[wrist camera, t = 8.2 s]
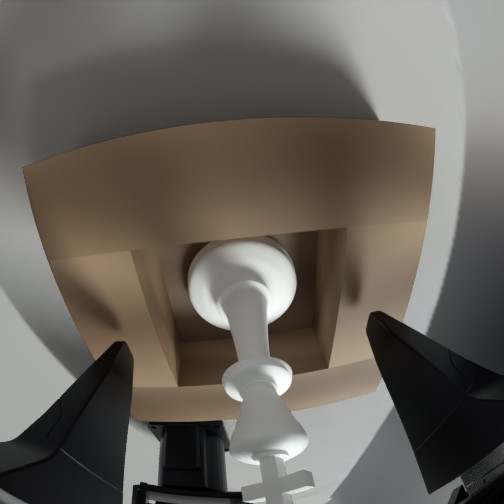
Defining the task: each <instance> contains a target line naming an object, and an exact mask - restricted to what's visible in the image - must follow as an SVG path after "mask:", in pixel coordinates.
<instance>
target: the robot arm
mask: <svg viewBox="0 0 504 504" xmlns="http://www.w3.org/2000/svg"><path fill="white" fill-rule="evenodd" d="M366 334H367V337H368V340H369V343H370V346H371V349H372V352H373V355H374V358H375V361H376V364H377V366H378V369H379V371H380V373H381V375H382V378H383V380H384V382H385V384H386V387H387V389H388V391H389V393H390V396H391V398H392V400H393V403H394V405H395V407H396V410H397V412H398V414H399V417H400V419H401V422H402V424H403V426H404V429H405V431H406V434H407V436H408V439H409V441H410V444H411V446H412V449H413V452H414V455H415V457H416V460H417V463H418V466H419V468H420V471H421V474H422V477H423V480H424V482H425V485H426V488H427V491H428V494H431V493H433V492H435V491H437V490H438V489H440V488H442V487H443V486H445V485H447V484H448V483H450V482H452V481H453V480H455V479H456V478H458V477H460V480H461V482H462V485H460V486H459V487H457V488H456V489H454V490H453V492H452V494H451V497H450V499H449V502H448V504H504V375H501V374H498V373H496V372H494V371H491V370H489V369H487V368H485V367H483V366H480V365H478V364H476V363H474V362H472V361H470V360H468V359H466V358H464V357H462V356H460V355H458V354H456V353H455V352H453V351H451V350H449V349H448V348H446V347H444V346H442V345H441V344H439V343H437V342H435V341H434V340H432V339H430V338H429V337H427V336H425V335H423V334H421V333H420V332H418V331H416V330H414V329H413V328H411V327H409V326H407V325H405V324H404V323H402V322H400V321H398V320H397V319H395V318H393V317H391V316H389V315H388V314H386V313H384V312H382V311H374V312H371V313H370V314H369V318H368V322H367V326H366ZM133 371H134V357H133V355H132V353H131V351H130V348H129V346H128V344H127V343H126V342H125V341H115V342H114V343H113V344H112V345H111V346H110V347H109V348H108V349H107V350H106V351H105V352H104V353H103V354H102V355H101V356H100V357H99V358H98V359H97V360H96V361H95V362H94V363H93V364H92V365H91V366H90V367H89V368H88V369H87V370H86V371H85V372H84V373H83V374H82V375H81V376H80V377H79V378H78V379H77V380H76V381H75V382H74V383H73V384H72V385H71V386H70V387H69V388H68V389H67V391H66V392H65V393H64V394H63V395H62V396H61V397H60V399H58V400H57V401H56V402H55V403H54V404H53V405H52V406H51V407H50V408H49V409H48V410H47V411H46V412H45V413H44V414H43V415H42V416H41V417H40V418H39V419H37V420H36V421H35V422H34V423H33V424H32V425H31V426H30V427H28V428H27V429H26V430H25V431H24V432H23V433H22V434H21V435H19V436H18V437H17V438H15V439H13V440H11V441H7V442H0V504H123V479H124V465H125V452H126V443H127V434H128V425H129V417H130V410H131V403H132V393H133ZM148 428H149V429H150V430H151V431H152V433H153V434H154V435H155V437H156V438H157V439H158V440H159V442H160V455H159V472H158V486H156V485H149V484H147V483H144V482H140V485H133V494H132V495H133V496H132V504H151V503H149V500H154V501H156V503H155V504H253V503H248V502H243V498H242V492H228V490H227V477H226V465H225V452H226V451H229V446H230V441H229V438H228V435H227V432H226V429H225V426H224V423H223V421H221V420H214V421H192V422H155V421H150V422H148ZM160 501H161V502H160Z"/></svg>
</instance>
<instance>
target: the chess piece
mask: <svg viewBox="0 0 504 504" xmlns="http://www.w3.org/2000/svg"><path fill="white" fill-rule="evenodd" d="M296 286H297V280H296V273H295V268H294V264H293V261H292V259H291V257H290V256H289V254H288V253H287V251H286V250H285V249H284V248H283V247H282V246H281V245H280V244H278V243H277V242H276V241H274V240H272V239H270V238H268V237H266V236H254V237H245V238H235V239H226V240H217V241H211V242H210V243H208V244H207V245H206V246H204V247H203V248H202V249H201V250H200V251H199V252H198V254H197V255H196V256H195V258H194V259H193V261H192V263H191V265H190V268H189V272H188V291H189V297H190V300H191V303H192V305H193V307H194V308H195V310H196V311H197V312H198V314H199V315H200V316H201V317H202V318H204V319H205V320H206V321H208V322H209V323H211V324H213V325H215V326H217V327H219V328H223V329H226V330H231V333H232V337H233V341H234V344H235V348H236V352H237V357H238V362H236V363H235V364H233V365H232V366H230V367H229V368H228V369H227V370H226V371H225V373H224V374H223V377H222V384H223V387H224V388H225V391H226V393H227V394H228V395H229V396H230V397H231V398H233V399H235V400H237V401H241V402H242V404H241V407H240V409H239V413H238V420H237V423H236V427H235V429H234V432H233V434H232V437H231V441H230V446H229V451H230V454H231V456H232V457H233V458H235V459H236V460H238V461H240V462H243V463H247V464H254V465H260V467H261V474H262V480H263V482H262V483H258V484H253V485H249V486H245V487H241V490H242V498H243V502H248V503H257V502H261V501H266V504H293V501H292V497H291V494H294V493H297V492H301V491H304V490H307V489H311V488H314V487H315V484H314V480H313V476H312V473H311V472H309V471H306V470H302V471H299V472H296V473H293V474H289V475H287V473H286V468H285V463H284V461H286V460H288V459H290V458H293V457H295V456H296V455H298V454H299V453H301V452H302V451H303V450H304V449H305V448H306V446H307V445H308V441H309V439H308V436H307V434H306V432H305V430H304V429H303V427H302V426H301V425H300V423H299V422H298V421H297V420H296V419H295V418H294V416H293V415H292V414H291V412H290V411H289V409H288V407H287V405H286V404H285V402H284V401H283V400H282V398H281V397H280V395H282V394H283V393H285V392H286V391H287V390H288V388H289V387H290V385H291V382H292V369H291V367H290V366H289V365H288V364H287V363H286V362H285V361H283V360H281V359H278V358H275V357H270V353H269V343H268V324H270V323H272V322H273V321H275V320H276V319H278V318H279V317H280V316H281V315H282V314H283V313H284V312H285V311H286V310H287V309H288V307H289V306H290V304H291V302H292V300H293V298H294V295H295V292H296Z"/></svg>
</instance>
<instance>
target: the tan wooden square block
mask: <svg viewBox="0 0 504 504" xmlns="http://www.w3.org/2000/svg"><path fill="white" fill-rule="evenodd" d="M434 153H435V128H430V127H424V126H417V125H411V124H403V123H395V122H387V121H377V120H365V119H351V118H330V117H275V118H253V119H239V120H227V121H217V122H208V123H199V124H192V125H184V126H178V127H171V128H165V129H159V130H154V131H148V132H143V133H138V134H134V135H129V136H124V137H120V138H116V139H111V140H107V141H103V142H99V143H96V144H92V145H88V146H85V147H81V148H78V149H74V150H71V151H68V152H65V153H61V154H58V155H55V156H52V157H49V158H46V159H44V160H41V161H38V162H35V163H33V164H30V165H27V166H25V167H22V168H23V173H24V178H25V183H26V188H27V192H28V196H29V200H30V204H31V208H32V212H33V216H34V219H35V223H36V226H37V230H38V233H39V236H40V239H41V242H42V245H43V248H44V251H45V254H46V257H47V260H48V262H49V265H50V268H51V270H52V273H53V275H54V278H55V280H56V283H57V285H58V287H59V290H60V292H61V294H62V297H63V299H64V301H65V303H66V306H67V308H68V310H69V312H70V314H71V316H72V318H73V320H74V322H75V324H76V326H77V328H78V330H79V332H80V334H81V336H82V338H83V340H84V341H85V343H86V345H87V347H88V349H89V350H90V352H91V354H92V356H93V357H94V359H95V361H96V360H97V359H98V358H99V357H100V356H101V355H102V354H103V353H104V352H105V351H106V350H107V349H108V348H109V347H110V346H111V345H112V344H113V343H114V342H115V341H125V342H126V343H127V344H128V346H129V348H130V351H131V353H132V355H133V357H134V371H133V393H132V403H131V410H130V413H131V415H132V416H133V417H134V419H135V420H136V421H155V422H192V421H214V420H228V419H238V413H239V409H240V407H241V404H242V402H241V401H237V400H235V399H233V398H231V397H230V396H229V395H228V394H227V393H226V391H225V388H224V387H223V384H222V377H223V374H224V373H225V371H226V370H227V369H228V368H229V367H230V366H232V365H233V364H235V363H236V362H238V357H237V352H236V348H235V344H234V341H233V337H232V333H231V330H226V329H223V328H219V327H217V326H215V325H213V324H211V323H209V322H208V321H206V320H205V319H204V318H202V317H201V316H200V315H199V314H198V312H197V311H196V310H195V308H194V307H193V305H192V303H191V300H190V297H189V291H188V272H189V268H190V265H191V263H192V261H193V259H194V258H195V256H196V255H197V254H198V252H199V251H200V250H201V249H202V248H203V247H204V246H206V245H207V244H208V243H210V242H211V241H217V240H226V239H235V238H245V237H254V236H266V237H268V238H270V239H272V240H274V241H276V242H277V243H278V244H280V245H281V246H282V247H283V248H284V249H285V250H286V251H287V253H288V254H289V256H290V257H291V259H292V261H293V264H294V268H295V273H296V280H297V286H296V292H295V295H294V298H293V300H292V302H291V304H290V306H289V307H288V309H287V310H286V311H285V312H284V313H283V314H282V315H281V316H280V317H279V318H278V319H276V320H275V321H273V322H272V323H270V324H268V343H269V353H270V357H275V358H278V359H281V360H283V361H285V362H286V363H287V364H288V365H289V366H290V367H291V369H292V382H291V385H290V387H289V388H288V390H287V391H286V392H285V393H283V394H282V395H280V397H281V398H282V400H283V401H284V402H285V404H286V405H287V407H288V409H289V411H290V412H291V411H296V410H302V409H307V408H312V407H317V406H321V405H326V404H330V403H334V402H338V401H342V400H346V399H350V398H353V397H357V396H361V395H364V394H368V393H371V392H374V391H376V389H377V387H378V385H379V383H380V380H381V378H382V375H381V373H380V371H379V369H378V366H377V364H376V361H375V358H374V355H373V352H372V349H371V346H370V343H369V340H368V337H367V334H366V326H367V322H368V318H369V314H370V313H371V312H374V311H382V312H384V313H386V314H388V315H389V316H391V317H393V318H395V319H397V320H398V321H400V322H403V319H404V316H405V312H406V309H407V306H408V302H409V299H410V295H411V292H412V288H413V284H414V280H415V277H416V272H417V268H418V264H419V260H420V255H421V250H422V246H423V241H424V235H425V230H426V224H427V218H428V211H429V204H430V197H431V188H432V179H433V167H434Z"/></svg>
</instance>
